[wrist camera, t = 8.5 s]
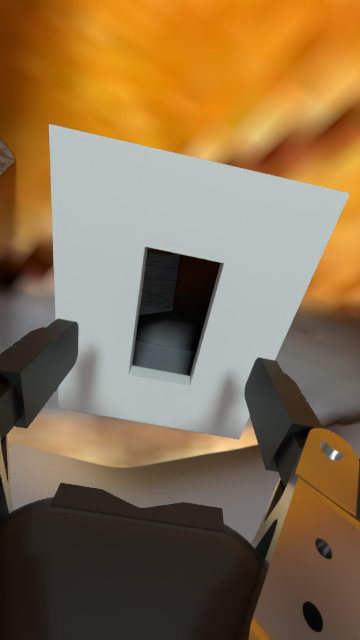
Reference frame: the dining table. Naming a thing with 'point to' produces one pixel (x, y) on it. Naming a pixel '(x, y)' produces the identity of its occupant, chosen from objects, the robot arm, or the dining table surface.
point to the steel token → (159, 281)
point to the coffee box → (5, 157)
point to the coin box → (183, 238)
